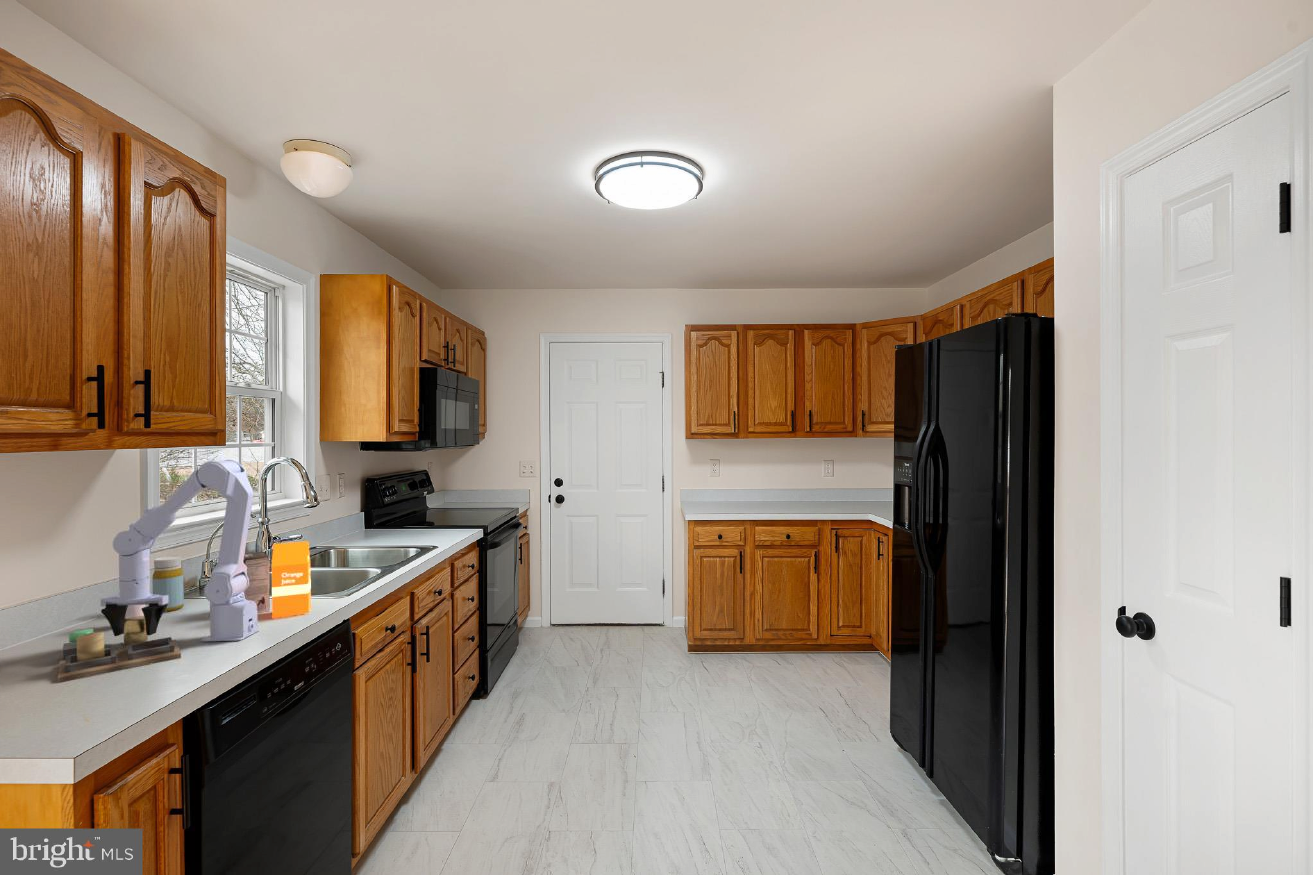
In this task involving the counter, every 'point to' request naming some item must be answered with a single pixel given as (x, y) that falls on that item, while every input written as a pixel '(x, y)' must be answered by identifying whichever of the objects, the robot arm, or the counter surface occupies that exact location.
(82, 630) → the button
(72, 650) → the button box
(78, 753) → the counter surface
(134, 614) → the smoothie
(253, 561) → the coffee box
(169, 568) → the bottle
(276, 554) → the orange juice
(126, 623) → the cylinder
